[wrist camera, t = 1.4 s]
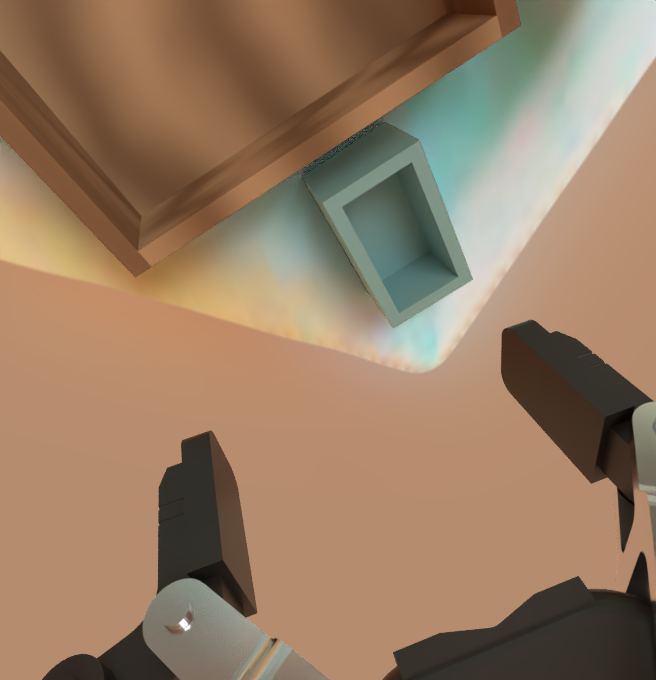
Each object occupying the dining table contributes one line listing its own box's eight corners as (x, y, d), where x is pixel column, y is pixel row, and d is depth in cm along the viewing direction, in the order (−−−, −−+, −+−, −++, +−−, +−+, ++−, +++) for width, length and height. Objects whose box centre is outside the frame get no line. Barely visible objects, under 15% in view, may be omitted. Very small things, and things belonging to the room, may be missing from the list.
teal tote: (385, 121, 30) (419, 140, 26) (438, 248, 36) (472, 279, 32) (301, 176, 30) (322, 202, 26) (368, 292, 36) (393, 328, 32)
